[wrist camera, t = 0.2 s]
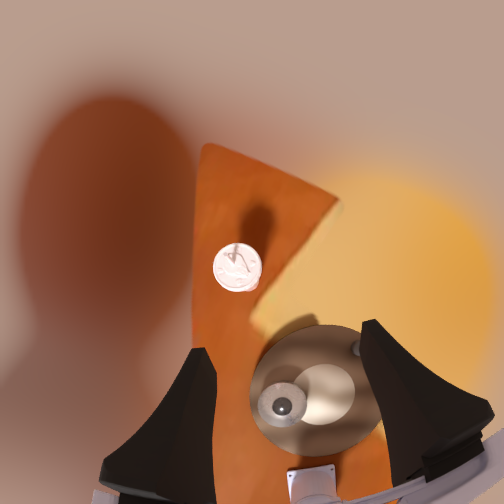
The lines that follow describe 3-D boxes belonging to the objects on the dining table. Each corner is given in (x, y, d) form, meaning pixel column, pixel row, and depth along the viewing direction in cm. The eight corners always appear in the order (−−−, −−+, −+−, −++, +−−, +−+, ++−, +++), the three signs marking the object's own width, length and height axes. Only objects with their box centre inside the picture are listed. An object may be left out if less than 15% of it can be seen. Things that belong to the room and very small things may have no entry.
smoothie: (244, 253, 46) (225, 220, 33) (275, 275, 44) (268, 250, 31) (220, 284, 45) (191, 263, 32) (251, 307, 43) (233, 296, 30)
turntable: (391, 435, 33) (399, 444, 29) (260, 460, 35) (257, 471, 31) (378, 312, 39) (387, 309, 35) (242, 336, 42) (236, 337, 37)
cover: (308, 418, 35) (309, 425, 32) (262, 424, 36) (260, 430, 33) (303, 377, 37) (304, 380, 34) (256, 383, 38) (254, 387, 35)
